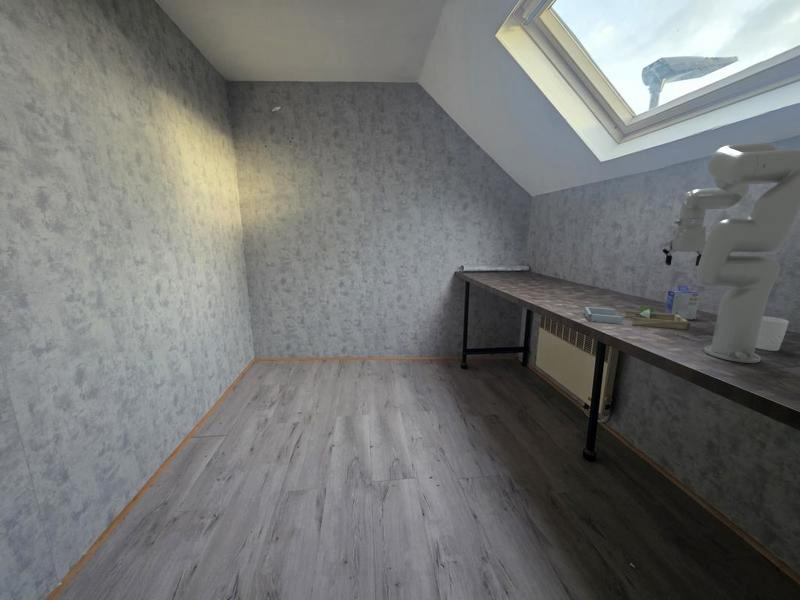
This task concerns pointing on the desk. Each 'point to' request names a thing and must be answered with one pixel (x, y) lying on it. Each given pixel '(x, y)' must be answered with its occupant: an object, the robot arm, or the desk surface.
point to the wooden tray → (659, 320)
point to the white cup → (771, 333)
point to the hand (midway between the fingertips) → (682, 265)
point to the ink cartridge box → (682, 303)
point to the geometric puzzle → (646, 312)
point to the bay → (602, 315)
